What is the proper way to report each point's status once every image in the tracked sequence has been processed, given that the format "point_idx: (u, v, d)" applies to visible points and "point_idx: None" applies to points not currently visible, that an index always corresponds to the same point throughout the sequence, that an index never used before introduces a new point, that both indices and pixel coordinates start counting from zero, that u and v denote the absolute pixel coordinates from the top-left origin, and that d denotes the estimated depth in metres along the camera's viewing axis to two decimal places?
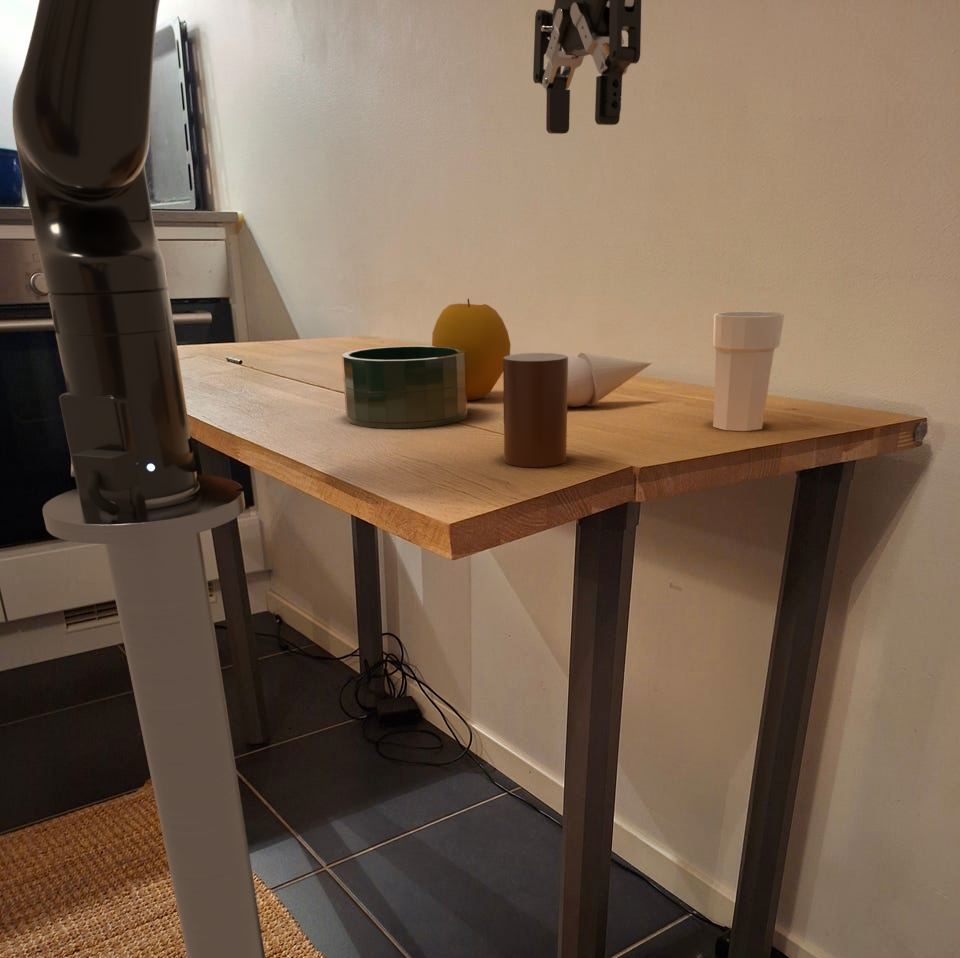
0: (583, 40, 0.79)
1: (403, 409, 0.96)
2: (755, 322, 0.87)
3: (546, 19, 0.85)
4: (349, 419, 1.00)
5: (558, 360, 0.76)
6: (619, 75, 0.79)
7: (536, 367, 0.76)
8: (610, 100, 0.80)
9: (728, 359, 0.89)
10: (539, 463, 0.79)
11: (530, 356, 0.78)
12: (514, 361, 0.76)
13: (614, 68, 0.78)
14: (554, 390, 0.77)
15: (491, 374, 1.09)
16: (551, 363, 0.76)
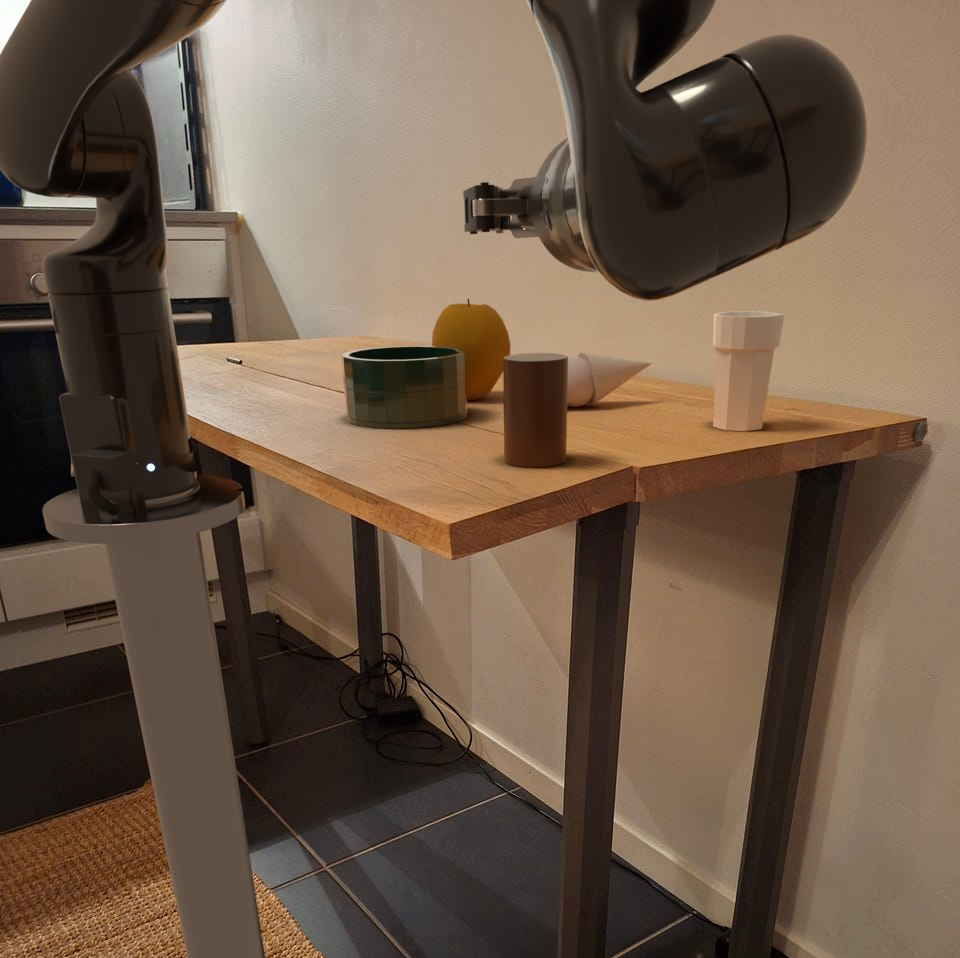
0: None
1: (403, 409, 0.96)
2: (755, 322, 0.87)
3: None
4: (349, 419, 1.00)
5: (558, 360, 0.76)
6: None
7: (536, 367, 0.76)
8: None
9: (728, 359, 0.89)
10: (539, 463, 0.79)
11: (530, 356, 0.78)
12: (514, 361, 0.76)
13: None
14: (554, 390, 0.77)
15: (491, 374, 1.09)
16: (551, 363, 0.76)
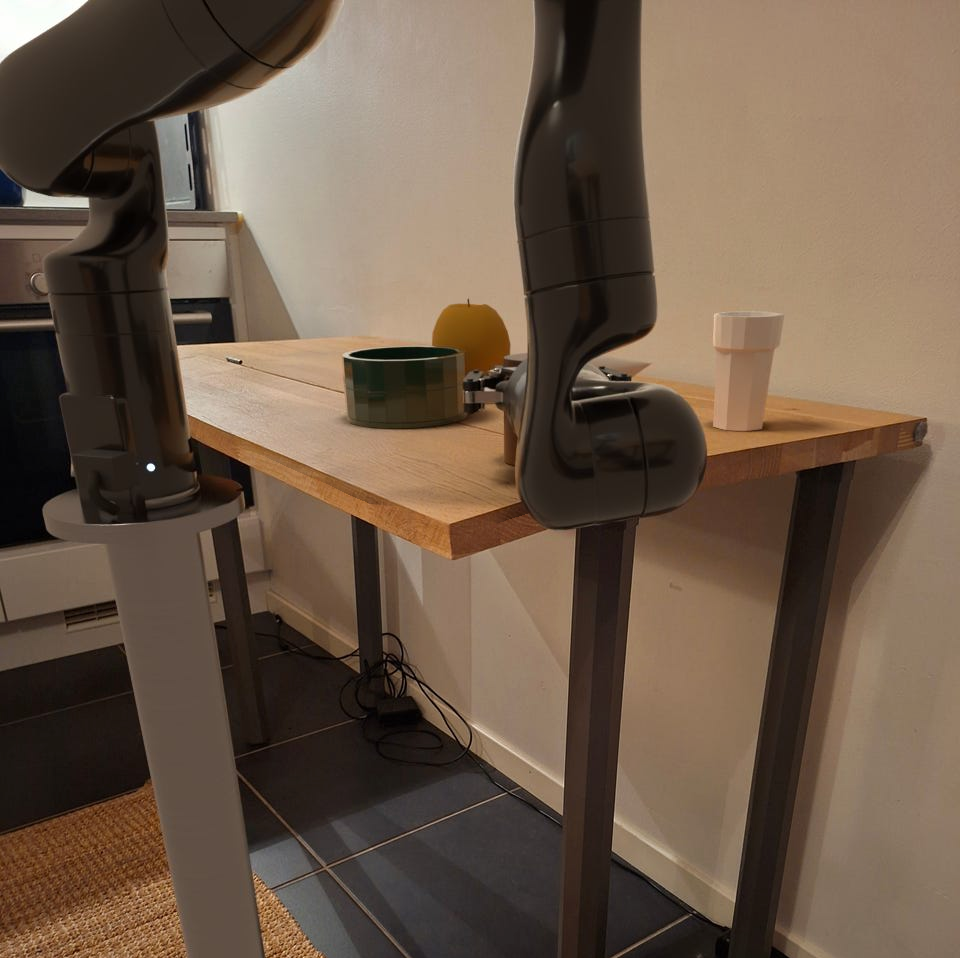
0: None
1: (403, 409, 0.96)
2: (755, 322, 0.87)
3: None
4: (349, 419, 1.00)
5: None
6: None
7: None
8: (487, 375, 0.79)
9: (728, 359, 0.89)
10: None
11: None
12: (514, 361, 0.76)
13: None
14: None
15: None
16: None
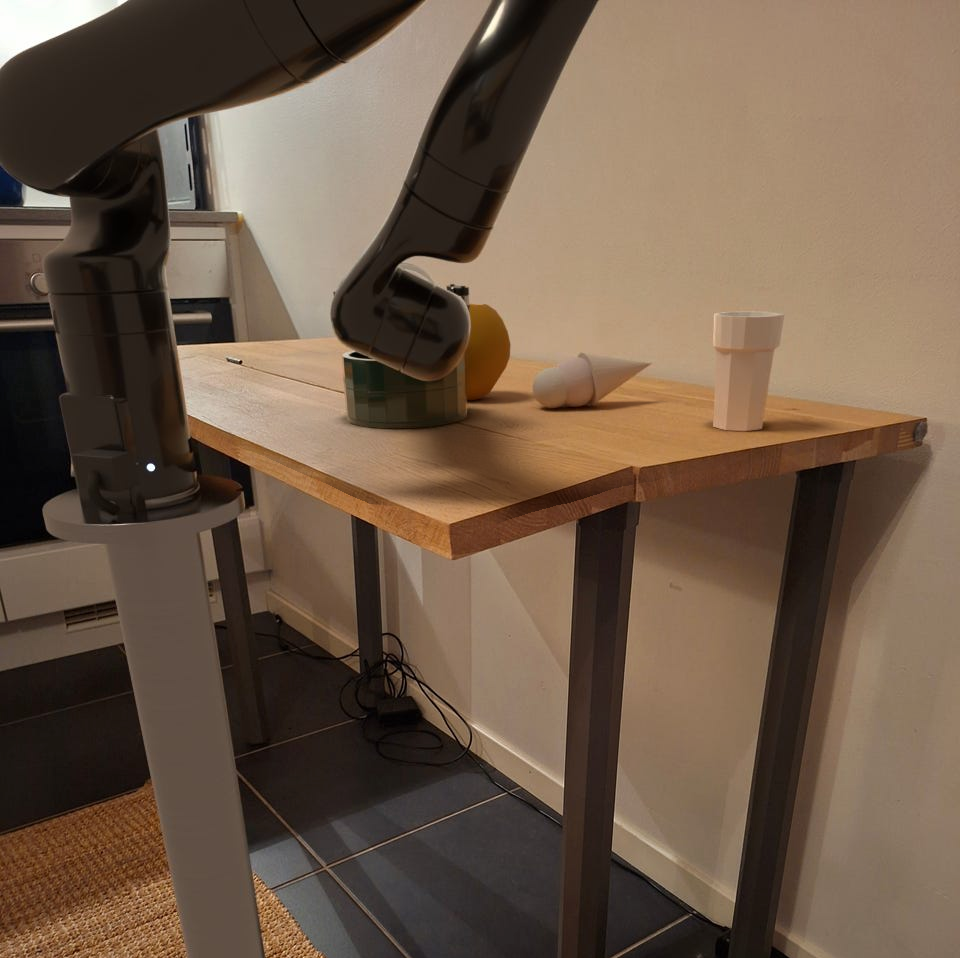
0: None
1: (403, 409, 0.96)
2: (755, 322, 0.87)
3: (456, 293, 0.91)
4: (349, 419, 1.00)
5: None
6: None
7: None
8: None
9: (728, 359, 0.89)
10: None
11: None
12: None
13: None
14: None
15: (491, 374, 1.09)
16: None
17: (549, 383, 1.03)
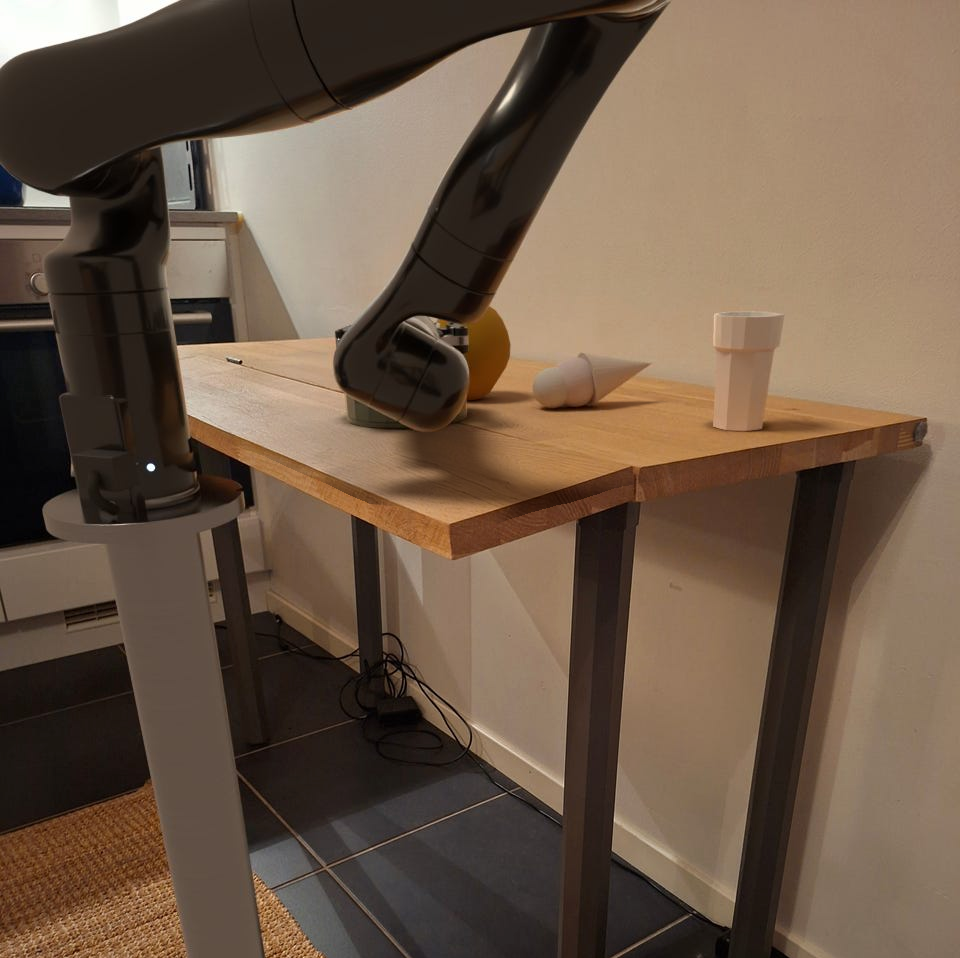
0: None
1: None
2: (755, 322, 0.87)
3: (456, 333, 0.93)
4: (349, 419, 1.00)
5: None
6: None
7: None
8: None
9: (728, 359, 0.89)
10: None
11: None
12: None
13: None
14: None
15: (491, 374, 1.09)
16: None
17: (549, 383, 1.03)
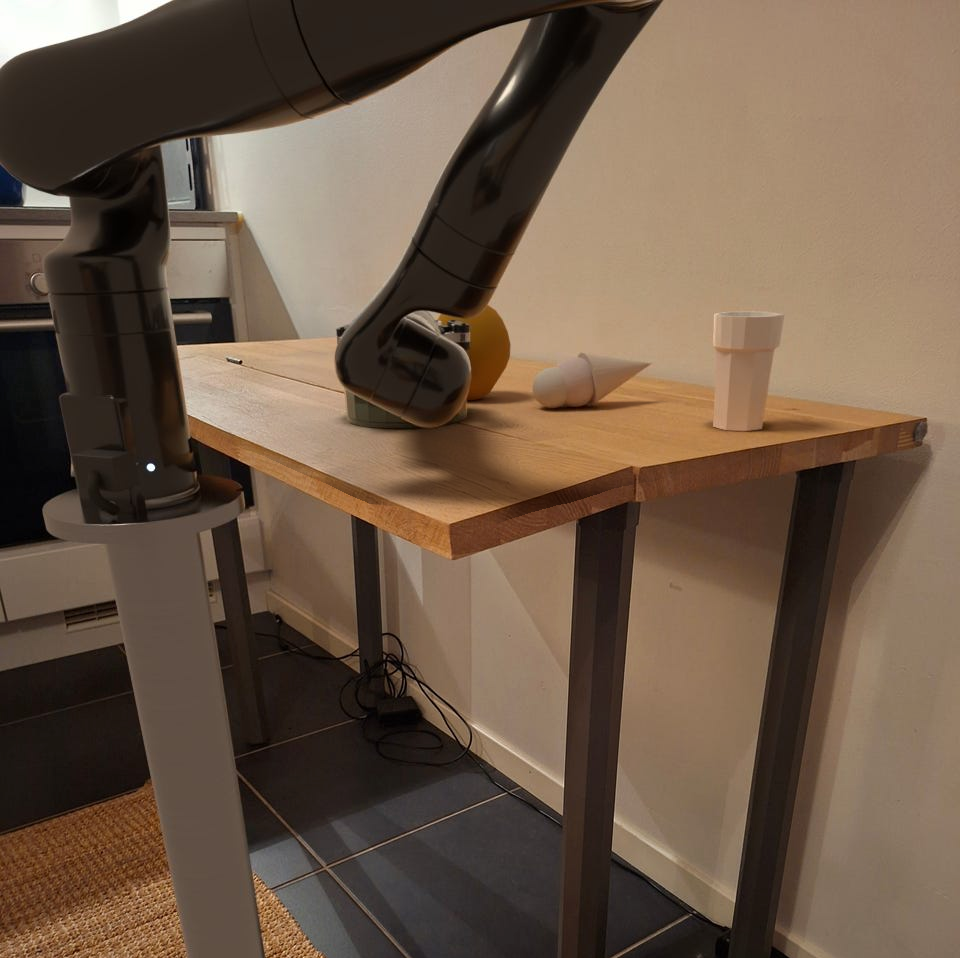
0: None
1: None
2: (755, 322, 0.87)
3: (457, 330, 0.92)
4: (349, 419, 1.00)
5: None
6: None
7: None
8: None
9: (728, 359, 0.89)
10: None
11: None
12: None
13: None
14: None
15: (491, 374, 1.09)
16: None
17: (549, 383, 1.03)
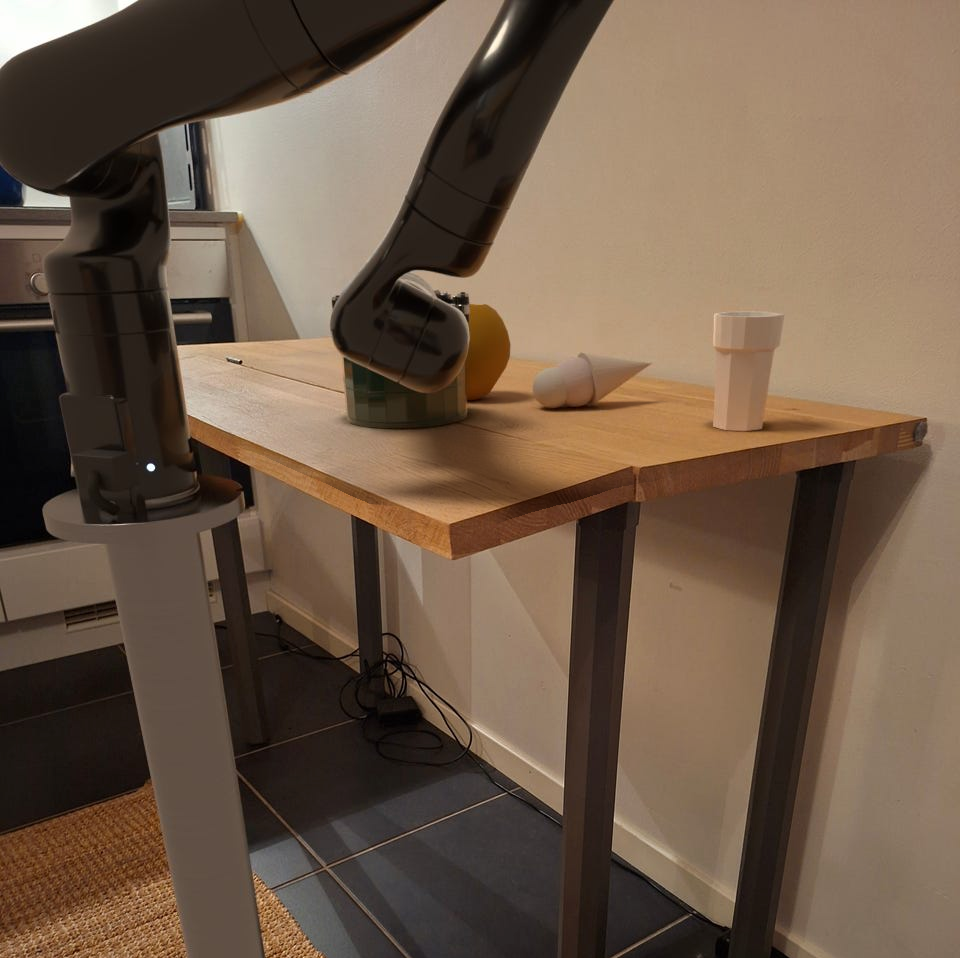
0: None
1: (403, 409, 0.96)
2: (755, 322, 0.87)
3: (456, 302, 0.91)
4: (349, 419, 1.00)
5: None
6: None
7: None
8: None
9: (728, 359, 0.89)
10: None
11: None
12: None
13: None
14: None
15: (491, 374, 1.09)
16: None
17: (549, 383, 1.03)
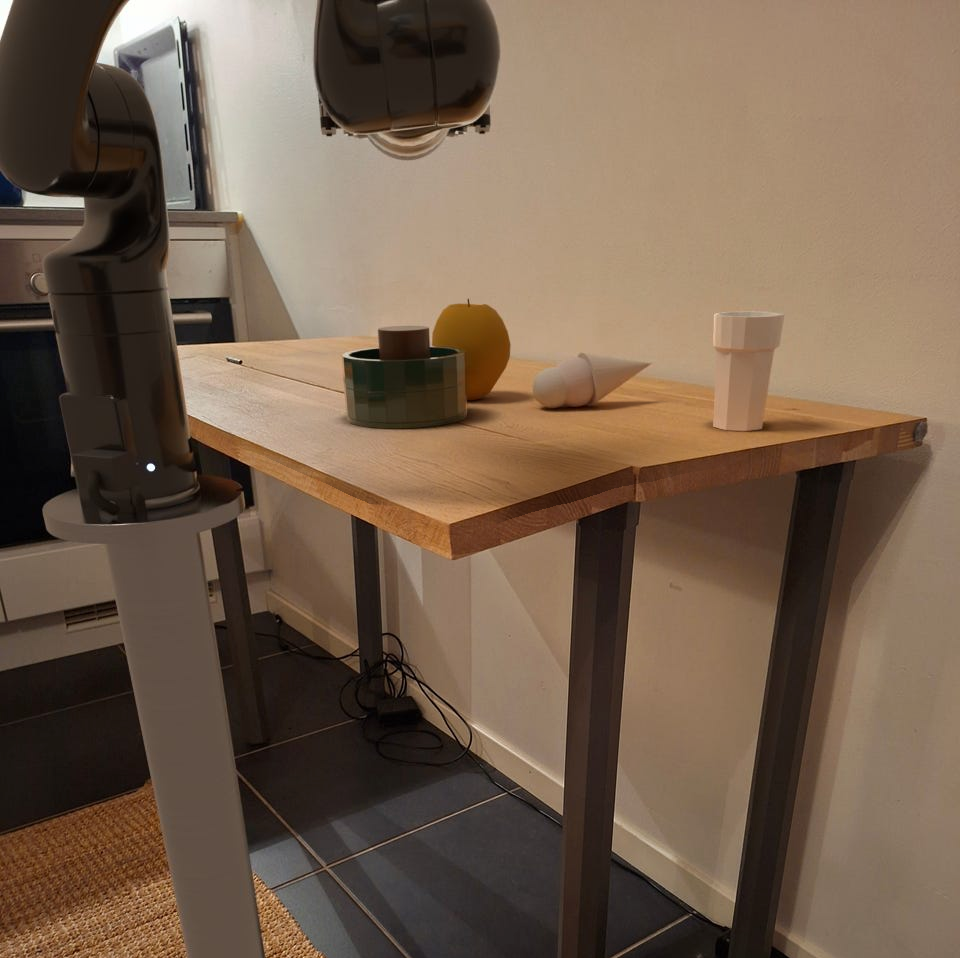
0: None
1: (403, 409, 0.96)
2: (755, 322, 0.87)
3: None
4: (349, 419, 1.00)
5: (418, 330, 0.97)
6: None
7: (400, 335, 0.96)
8: None
9: (728, 359, 0.89)
10: None
11: (399, 327, 0.99)
12: (384, 331, 0.97)
13: None
14: (416, 354, 0.97)
15: (491, 374, 1.09)
16: (412, 332, 0.96)
17: (549, 383, 1.03)
